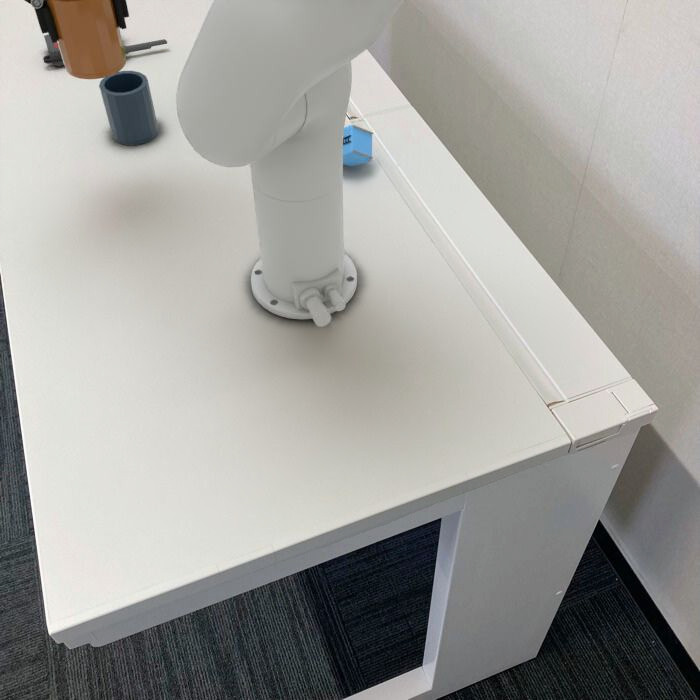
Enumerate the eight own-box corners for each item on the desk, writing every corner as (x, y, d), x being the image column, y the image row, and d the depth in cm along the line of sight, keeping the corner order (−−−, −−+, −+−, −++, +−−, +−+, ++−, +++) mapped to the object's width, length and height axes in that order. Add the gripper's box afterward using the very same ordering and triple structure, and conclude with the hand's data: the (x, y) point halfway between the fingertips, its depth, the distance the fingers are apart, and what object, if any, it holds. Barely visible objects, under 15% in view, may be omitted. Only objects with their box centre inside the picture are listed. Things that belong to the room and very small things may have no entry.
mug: (163, 139, 112) (152, 88, 106) (118, 149, 111) (104, 99, 105) (147, 107, 118) (136, 57, 112) (104, 116, 116) (90, 67, 110)
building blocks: (315, 180, 113) (374, 160, 105) (271, 166, 108) (330, 144, 99) (316, 128, 114) (374, 104, 106) (273, 112, 108) (331, 85, 100)
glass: (132, 71, 90) (115, -6, 83) (72, 84, 88) (49, 6, 81) (118, 44, 94) (100, -31, 88) (60, 56, 92) (37, -20, 86)
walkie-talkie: (48, 75, 124) (170, 52, 129) (39, 49, 121) (165, 26, 126) (41, 51, 130) (158, 29, 135) (33, 25, 127) (153, 4, 131)
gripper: (-49, -122, 70) (14, 61, 84) (139, -147, 75) (170, 30, 88) (-58, -147, 75) (3, 31, 88) (120, -169, 79) (153, 2, 93)
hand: (87, 29), depth 88 cm, fingers closed on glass, 7 cm apart
